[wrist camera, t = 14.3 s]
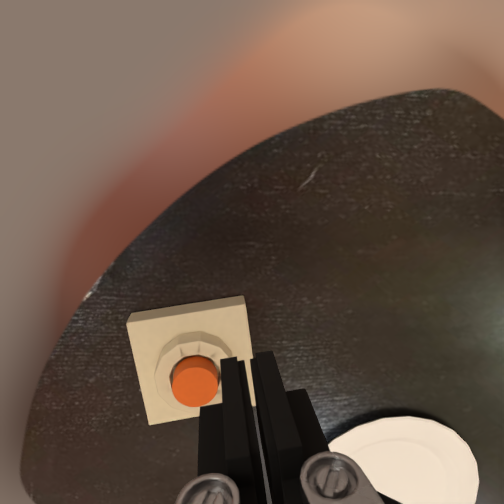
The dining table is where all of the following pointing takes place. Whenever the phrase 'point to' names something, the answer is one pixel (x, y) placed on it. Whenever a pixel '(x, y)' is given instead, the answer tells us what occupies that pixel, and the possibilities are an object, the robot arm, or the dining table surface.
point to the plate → (412, 460)
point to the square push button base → (186, 349)
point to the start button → (195, 381)
